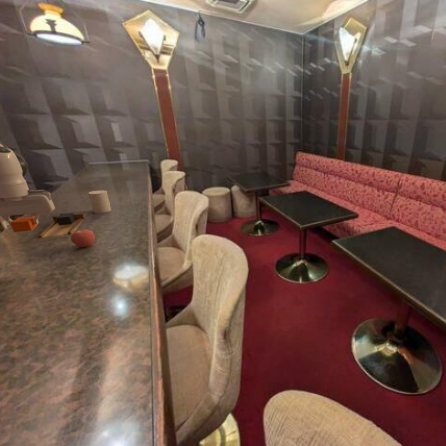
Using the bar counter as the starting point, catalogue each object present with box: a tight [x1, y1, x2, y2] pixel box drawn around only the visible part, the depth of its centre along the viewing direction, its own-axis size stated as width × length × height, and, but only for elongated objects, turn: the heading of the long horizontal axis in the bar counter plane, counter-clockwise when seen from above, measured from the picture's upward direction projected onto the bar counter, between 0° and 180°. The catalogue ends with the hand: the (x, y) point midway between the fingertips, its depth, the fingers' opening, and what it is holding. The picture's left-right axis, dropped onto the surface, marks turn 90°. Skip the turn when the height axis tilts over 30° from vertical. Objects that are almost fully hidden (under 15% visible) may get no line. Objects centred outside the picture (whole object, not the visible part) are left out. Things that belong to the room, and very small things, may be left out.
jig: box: [37, 212, 85, 239], centre depth 120 cm, size 12×22×4 cm, turn 28°
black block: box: [57, 212, 75, 225], centre depth 125 cm, size 5×6×4 cm
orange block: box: [11, 215, 39, 233], centre depth 98 cm, size 5×6×4 cm
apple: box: [70, 229, 96, 248], centre depth 103 cm, size 7×7×8 cm
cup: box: [88, 189, 112, 214], centre depth 143 cm, size 8×8×12 cm
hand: (24, 224), depth 98 cm, fingers closed on orange block, 5 cm apart
